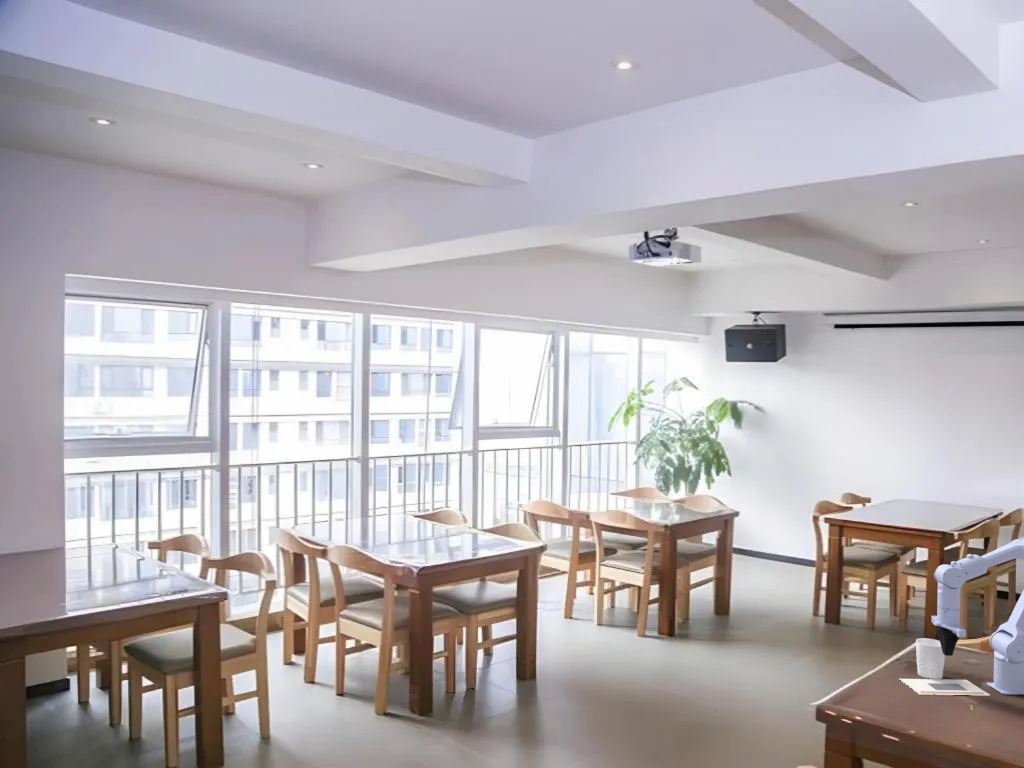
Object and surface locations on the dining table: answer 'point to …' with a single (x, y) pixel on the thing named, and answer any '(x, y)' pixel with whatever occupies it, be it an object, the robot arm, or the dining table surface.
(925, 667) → the white cup
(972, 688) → the menu card
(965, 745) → the dining table surface
